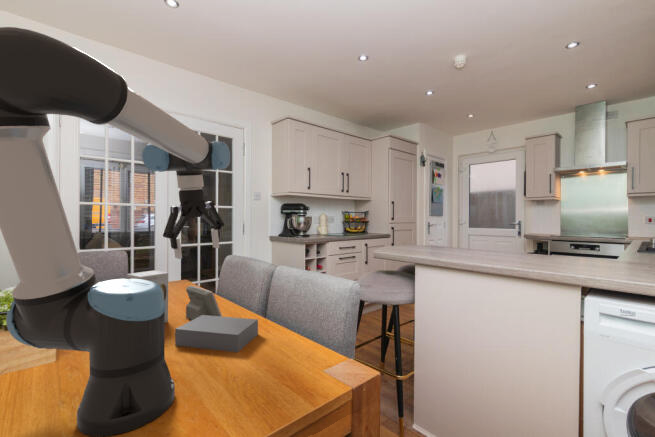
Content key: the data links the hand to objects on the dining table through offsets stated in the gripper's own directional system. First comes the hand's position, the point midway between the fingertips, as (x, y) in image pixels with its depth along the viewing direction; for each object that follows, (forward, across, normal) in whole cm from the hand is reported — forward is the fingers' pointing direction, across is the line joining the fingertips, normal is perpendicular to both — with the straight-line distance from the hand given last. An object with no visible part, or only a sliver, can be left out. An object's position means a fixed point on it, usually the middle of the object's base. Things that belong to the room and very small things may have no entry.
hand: (198, 252), depth 100 cm
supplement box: (+23, +14, -12) cm, 29 cm away
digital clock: (+24, 0, -2) cm, 25 cm away
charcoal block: (+22, +8, +19) cm, 30 cm away
